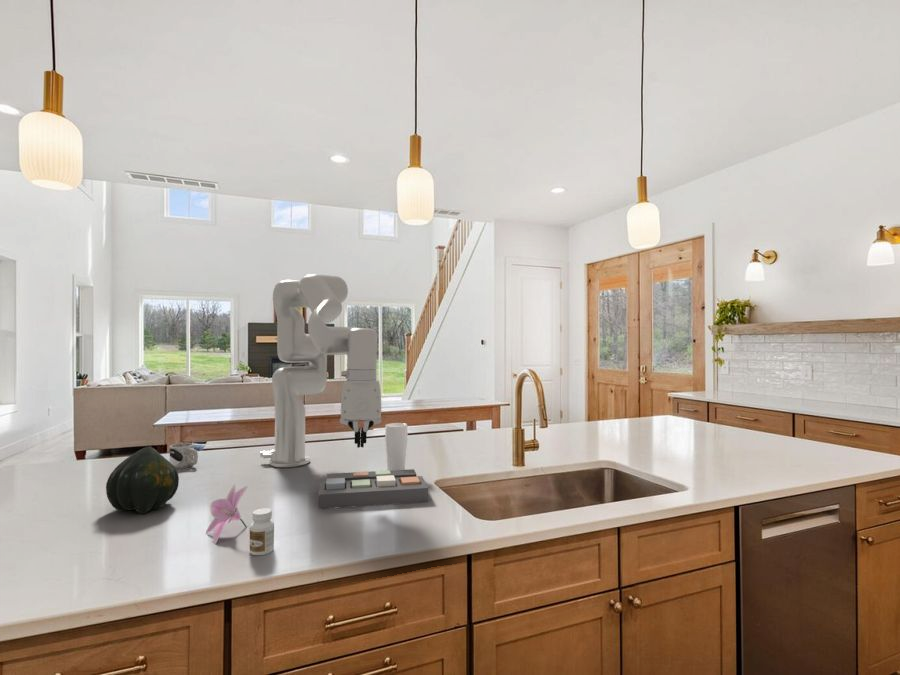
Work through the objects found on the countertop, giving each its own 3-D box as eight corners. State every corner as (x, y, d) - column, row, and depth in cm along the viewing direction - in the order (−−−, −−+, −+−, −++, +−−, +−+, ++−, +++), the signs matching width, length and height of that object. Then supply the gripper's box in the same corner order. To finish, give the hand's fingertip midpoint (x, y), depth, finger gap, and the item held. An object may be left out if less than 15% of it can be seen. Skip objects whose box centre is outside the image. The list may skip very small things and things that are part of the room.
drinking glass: (403, 477, 141) (403, 427, 141) (381, 476, 142) (382, 426, 142) (409, 471, 147) (410, 423, 147) (389, 470, 149) (389, 422, 149)
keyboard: (318, 509, 115) (318, 491, 115) (321, 488, 130) (321, 472, 130) (428, 501, 121) (428, 484, 121) (418, 482, 136) (418, 467, 136)
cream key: (377, 490, 121) (377, 481, 121) (376, 485, 126) (376, 476, 126) (395, 489, 122) (395, 480, 122) (393, 484, 127) (393, 475, 127)
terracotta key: (402, 491, 123) (402, 482, 123) (400, 486, 127) (400, 477, 127) (419, 490, 124) (420, 481, 124) (417, 485, 128) (417, 476, 128)
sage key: (351, 495, 120) (352, 485, 120) (351, 489, 125) (351, 480, 125) (370, 493, 121) (370, 484, 121) (369, 488, 126) (369, 479, 126)
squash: (110, 503, 102) (158, 442, 111) (80, 493, 110) (127, 437, 119) (162, 530, 111) (203, 472, 120) (131, 519, 119) (171, 465, 128)
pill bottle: (244, 553, 91) (244, 513, 91) (260, 544, 95) (261, 505, 95) (262, 557, 89) (263, 516, 89) (278, 548, 93) (279, 508, 93)
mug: (164, 467, 150) (164, 446, 150) (183, 462, 156) (183, 442, 156) (187, 470, 146) (187, 449, 146) (205, 465, 153) (205, 444, 152)
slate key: (325, 493, 119) (326, 484, 119) (326, 488, 123) (326, 478, 123) (344, 492, 120) (344, 483, 120) (344, 486, 124) (344, 477, 124)
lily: (213, 526, 107) (193, 495, 102) (265, 501, 110) (247, 470, 106) (211, 565, 96) (188, 532, 92) (268, 536, 99) (248, 503, 95)
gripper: (331, 377, 118) (330, 451, 118) (392, 377, 121) (390, 449, 121) (332, 374, 125) (331, 443, 125) (389, 374, 128) (387, 442, 128)
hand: (360, 446), depth 123 cm, fingers closed
